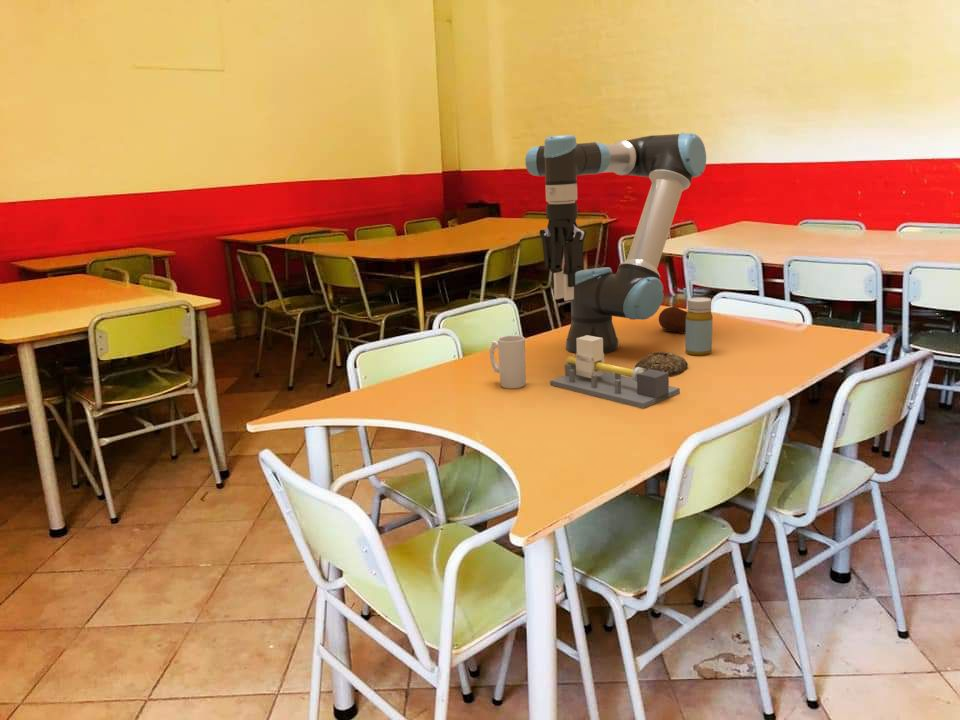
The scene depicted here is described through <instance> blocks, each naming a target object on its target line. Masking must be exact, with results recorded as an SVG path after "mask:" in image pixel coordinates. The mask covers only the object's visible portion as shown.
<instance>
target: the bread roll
mask: <svg viewBox="0 0 960 720" xmlns="http://www.w3.org/2000/svg"><path fill="white" fill-rule="evenodd" d="M688 366H689V363H688V362H687V361H686V359H685V358H684V357H683V356H680V355H677V354H675V353H674V352H672V353H671V352H666V351H665V352H664V351H653V352H651V353H648V354H646V355H644V357H642V358H641V359H640V360H639V361H638V362H636V364H635V365H634V369H635V368H636V367H641V368H643V369H644V371H647V370H649V369H652V370H657V371H662V372H667V373H669V377H673V376H675V375H678V374H681V373H682V372H684V370H685V369H687V368H688Z"/></svg>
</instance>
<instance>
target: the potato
mask: <svg viewBox="0 0 960 720" xmlns="http://www.w3.org/2000/svg"><path fill="white" fill-rule="evenodd" d="M687 312H688V311H685V310H683V309H681V308H679V307H677V306H670V307H666V308H664V309H663V310H662V311H661V312H660V313H659V315H658V323H659V325H660V326H661V328H662V329H664V330H666V331H669V332H672V333H676V332H678V334H686V315H687Z"/></svg>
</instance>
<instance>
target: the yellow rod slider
mask: <svg viewBox="0 0 960 720" xmlns="http://www.w3.org/2000/svg"><path fill="white" fill-rule="evenodd" d="M565 360H566V361H565V362H566V363H565V364H564V375H562V376H559V377H557V378H553V379H551V380H550V381H549V382H550V383H549V384H550V386H552V387H556V388H560V389H564V390H569V391H573V392H575V393H580V394H583V395H588V396H592V397H595V398H600V399H603V400H608V401H612V402H617V403H620V404H624V405H628V406H632V407H637V408H640V409H643V410H644V409H645V408H647V407H650V406H652V405H655V404H658V403H660V402H662V401H664V400H667V399H670V398H671V397H674V396H676V395H679V394H680V393H681V392H680V391H681V389H680V387H675V386H671V385H669V382H670V379H669V377H670V376H669V373H667V372H662V371H657V370H652V369H649V370H647V371H644V369H643V368H641V367H636V368H635V367H634V369H633V368H629V367H624V366H623V367H622V366H619V365H613V364H608V363H605V362H604V363H600V362H594V369H597V370H602V371H604V374H603V375H600V376H597V375H595V374H593V375H591V378H588V377H583V376H579V375H576V356H570V355H568V356H567V357H566V359H565Z"/></svg>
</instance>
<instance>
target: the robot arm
mask: <svg viewBox="0 0 960 720" xmlns="http://www.w3.org/2000/svg"><path fill="white" fill-rule="evenodd" d="M524 158H525V159H524V160H525V167H526V170H527V172H528V173H529V174H530V175H532V176H536V177H545V178H544V179H545V181H544V182H545V185H544V186H545V201H546V203H547V204H546V206H545V214H546V215H545V216H546V217H545V218H546V219H547V220H548V223H547V227H545V228H544V229H540V230H539V236H540V237H541V243H542V251H543V252H542V253H543V260H544V268H545V270H548V271H550V272H551V281H552V283H551V284H552V285H553V292H554V293H553V295H554V296H553V297H554V300H560V299H563V300H564V301H566V302H567V301H570V310H571V311H570V313H571V318H570V319H571V322H570V326H569V330H568V333H567V338H566V340H565V345H566V346H565V348H566V350H567V351H568V352H570V353H574V354H577V344H576V338H579V337H583V336H586V335H589V336H595V337H600V338H603V353H604V354H607V353H612V352H615V351H617V350H618V349H619V339H618V337H617V332H616V330H615V325H614V323H613V317H617V318H624V319H629V320H634V321H635V320H643V321H644V320H648V319H650V318H651V317H653V316H654V315H655V314H656V313H657V312H658V310H659V309H660V307H661V305H662V304H663V300H664V299H663V298H664V292H663V291H664V285H663V283H662V281H661V280H660V279H661V275H660V273H659V271H658V268H659V264H660V262H661V257H662V255H663V252H664V249H665V245H666V242H667V239H668V235H669V232H670V230H671V227H672V223H673V221H674V217H675V214H676V211H677V208H678V205H679V203H680V202H679V201H680V200H681V197H682V192H684V191H685V190H687V189H689V187H690V186H691V184H692V180H693V178H697V177H699V176H702V175H703V173H704V171H705V169H706V165H707V151H706V148H705V143H704V142H703V140H702V138H701V136H699V135H697V134H696V133H692V132H691V133H684V132H681V133H674V134H673V133H672V134H657V135H656V134H655V135H653V134H652V135H647V136H641V137H638V138H637V137H636V138H631V139H627V140H626V139H625V140H622V139H621V140H618V141H616V142H615V143H611V144H609V143H608V144H605V143H603V142H595V141H593V142H583V143H577V138H576V136H575V135H574V134H567V135H565V134H564V135H551V136H547V137H545V139H544V144H543V145H538V146H537V145H536V146H533V147H531V148H529V150H528V151H527V153H526V155H525V157H524ZM603 173H614V174H615V175H617V176H618V175H619V176H633V177H643V178H649V180H650V181H651V184H650V189H649V191H648V194H647V197H646V200H645V203H644V206H643V209H642V211H641V212H642V213H641V215H640V219H639V222H638V225H637V228H636V230H635V234H634V236H633V239H632V244H631V245H630V249H629V251H628V255H627V258H626V260H625V261H623V262H621V263H619V265H618V267H617V271H616V272H615V273H613V271H612V268H611V267H607V266H606V267H596V268H587V269H583V262H584V261H583V259H584V247H585V246H584V245H585V242H584V241H585V238H586V235H587V231H586V230H581V229H580V228H578V224H577V218H578V215H579V213H578V212H579V211H578V210H579V209H578V203H577V202H576V201H577V200H578V184H577V183H578V182H577V181H578V176H588V175H598V174H603ZM562 256H563V258H564V265H565V271H563V270H564V269H563V268H562Z"/></svg>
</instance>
